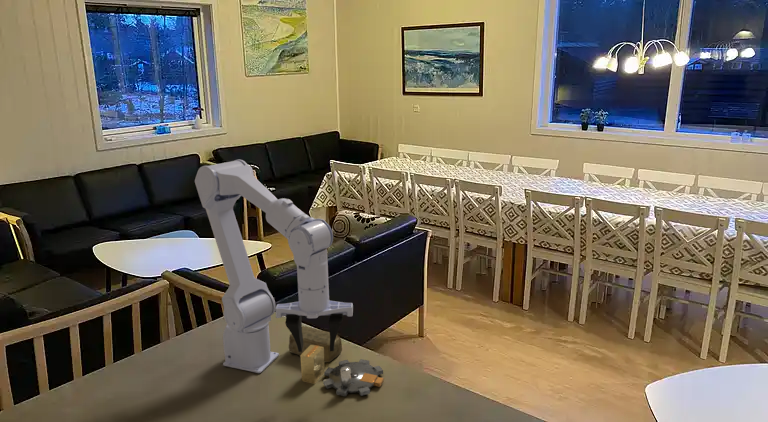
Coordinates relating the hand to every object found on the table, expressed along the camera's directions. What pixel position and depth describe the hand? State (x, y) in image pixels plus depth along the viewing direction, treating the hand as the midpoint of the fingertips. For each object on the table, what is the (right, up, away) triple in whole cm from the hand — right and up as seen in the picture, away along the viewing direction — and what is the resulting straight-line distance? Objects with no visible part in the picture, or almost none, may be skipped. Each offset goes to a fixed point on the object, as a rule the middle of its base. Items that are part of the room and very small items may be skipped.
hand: (316, 348), depth 106 cm
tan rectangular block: (-2, -8, +8) cm, 11 cm away
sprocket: (+7, -8, +6) cm, 12 cm away
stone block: (-2, -6, +17) cm, 18 cm away
